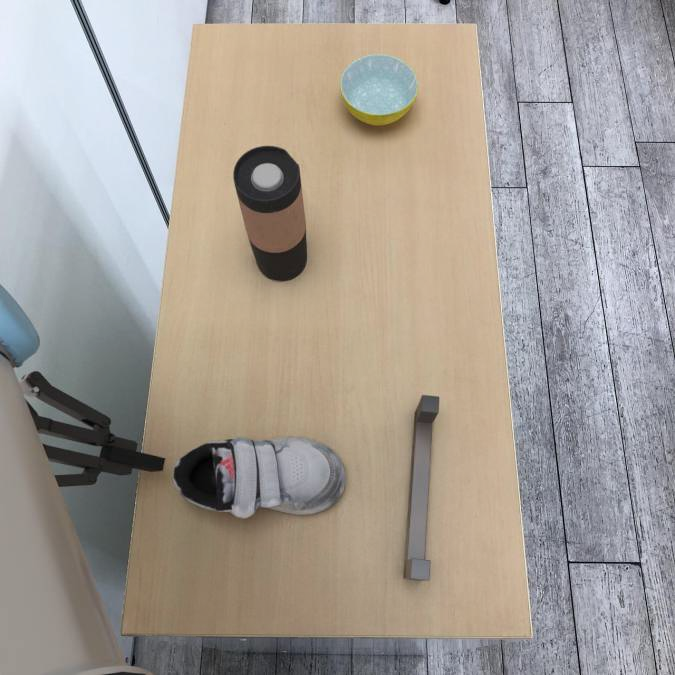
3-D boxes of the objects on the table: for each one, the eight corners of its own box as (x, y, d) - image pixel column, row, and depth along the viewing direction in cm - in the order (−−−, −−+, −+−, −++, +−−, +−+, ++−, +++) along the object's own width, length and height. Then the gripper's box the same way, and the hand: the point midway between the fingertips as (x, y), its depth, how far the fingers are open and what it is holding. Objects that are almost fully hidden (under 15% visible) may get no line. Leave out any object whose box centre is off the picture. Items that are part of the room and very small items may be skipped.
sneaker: (345, 523, 75) (346, 515, 66) (182, 525, 75) (160, 517, 66) (344, 438, 79) (345, 418, 70) (189, 439, 79) (169, 420, 70)
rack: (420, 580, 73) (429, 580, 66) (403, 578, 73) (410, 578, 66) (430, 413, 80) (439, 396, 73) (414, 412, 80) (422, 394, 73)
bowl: (396, 153, 95) (399, 125, 89) (327, 126, 97) (326, 97, 91) (425, 99, 99) (430, 69, 93) (358, 74, 100) (360, 43, 95)
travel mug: (250, 279, 87) (225, 197, 69) (260, 232, 90) (239, 140, 71) (304, 286, 87) (294, 205, 68) (313, 238, 90) (305, 148, 71)
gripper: (-56, 354, 63) (153, 413, 78) (-103, 486, 58) (129, 522, 73) (-34, 340, 58) (186, 407, 73) (-84, 484, 53) (162, 523, 68)
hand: (157, 465), depth 73 cm, fingers closed
